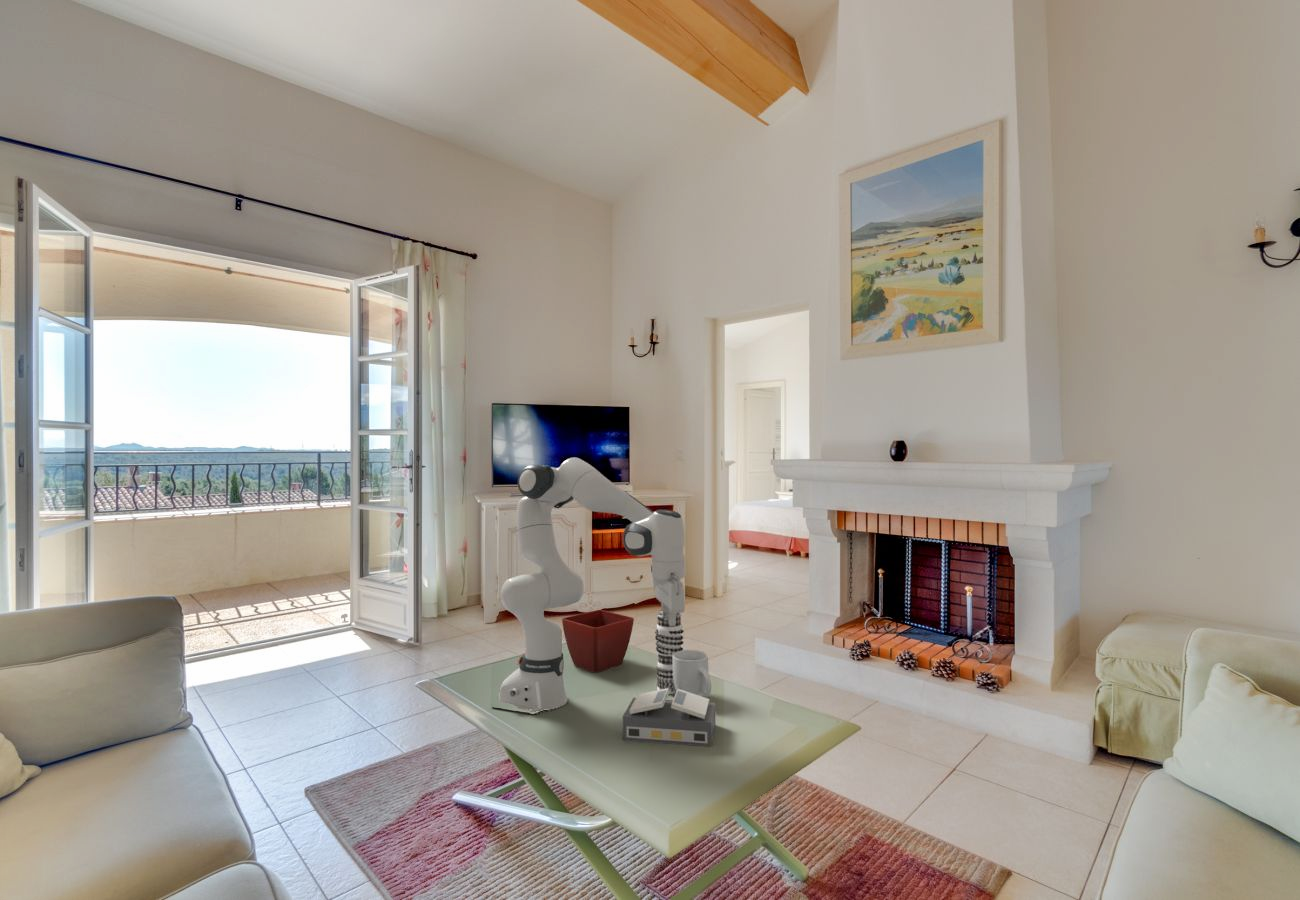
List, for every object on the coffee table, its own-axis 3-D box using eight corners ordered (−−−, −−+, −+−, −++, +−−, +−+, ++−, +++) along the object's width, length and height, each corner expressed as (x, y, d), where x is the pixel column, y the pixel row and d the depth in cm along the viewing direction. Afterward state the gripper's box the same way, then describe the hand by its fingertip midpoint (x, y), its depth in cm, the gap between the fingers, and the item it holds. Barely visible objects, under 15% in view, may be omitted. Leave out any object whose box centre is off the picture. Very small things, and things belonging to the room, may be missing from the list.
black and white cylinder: (686, 684, 195) (684, 607, 196) (682, 695, 186) (681, 613, 187) (658, 683, 196) (657, 606, 197) (653, 693, 187) (652, 612, 188)
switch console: (622, 740, 155) (622, 711, 156) (633, 719, 168) (633, 693, 169) (711, 747, 151) (711, 717, 151) (715, 724, 164) (715, 698, 164)
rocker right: (670, 707, 155) (671, 703, 155) (676, 692, 165) (677, 688, 165) (704, 719, 153) (705, 715, 153) (708, 702, 164) (709, 698, 164)
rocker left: (630, 714, 156) (629, 710, 157) (638, 698, 167) (637, 694, 167) (662, 707, 155) (661, 703, 155) (669, 691, 166) (668, 687, 166)
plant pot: (635, 664, 216) (635, 617, 216) (595, 678, 202) (595, 627, 202) (600, 653, 229) (600, 609, 229) (560, 665, 215) (560, 618, 215)
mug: (724, 703, 179) (723, 659, 179) (695, 712, 173) (694, 666, 173) (693, 688, 191) (693, 647, 192) (665, 696, 185) (665, 653, 185)
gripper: (690, 576, 152) (691, 631, 151) (671, 564, 172) (671, 612, 171) (666, 577, 150) (666, 633, 150) (649, 565, 170) (650, 614, 170)
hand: (669, 622), depth 161 cm, fingers open, 4 cm apart
